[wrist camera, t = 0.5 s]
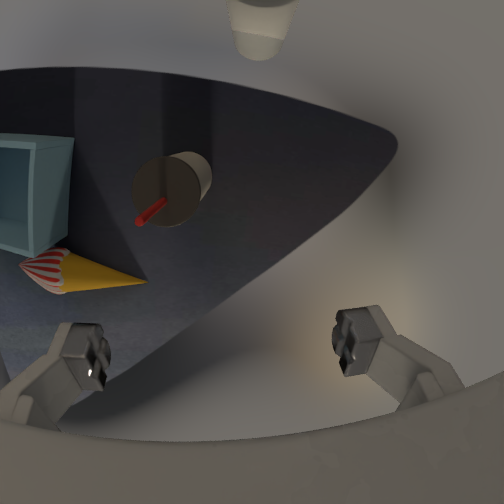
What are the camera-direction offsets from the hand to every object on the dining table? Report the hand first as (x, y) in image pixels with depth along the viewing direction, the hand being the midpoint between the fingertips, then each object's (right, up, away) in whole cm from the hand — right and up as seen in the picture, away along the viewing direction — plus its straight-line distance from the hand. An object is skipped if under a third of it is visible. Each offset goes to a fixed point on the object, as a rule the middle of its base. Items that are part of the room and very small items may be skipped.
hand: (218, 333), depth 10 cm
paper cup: (-7, +12, +27) cm, 30 cm away
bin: (-31, +13, +26) cm, 42 cm away
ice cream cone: (-22, 0, +31) cm, 38 cm away
